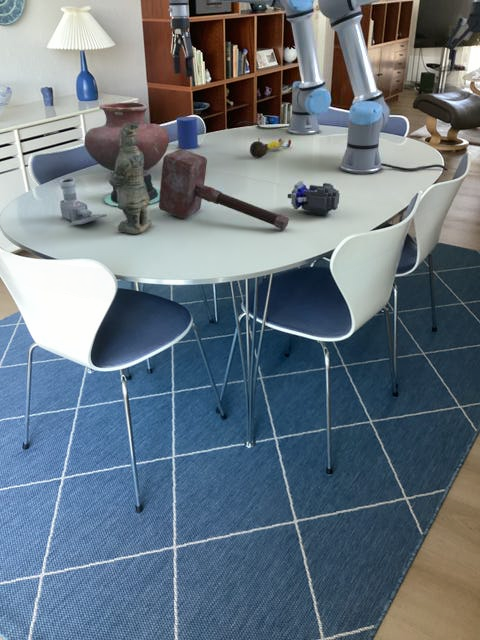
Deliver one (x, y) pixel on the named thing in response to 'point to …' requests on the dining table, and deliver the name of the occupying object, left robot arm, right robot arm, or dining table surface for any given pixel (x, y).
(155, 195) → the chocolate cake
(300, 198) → the toy
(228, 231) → the dining table surface
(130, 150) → the statue
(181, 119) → the canister
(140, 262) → the dining table surface
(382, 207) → the dining table surface
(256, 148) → the figurine
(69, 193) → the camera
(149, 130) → the clay pot
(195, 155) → the sledgehammer
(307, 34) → the left robot arm
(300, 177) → the dining table surface
